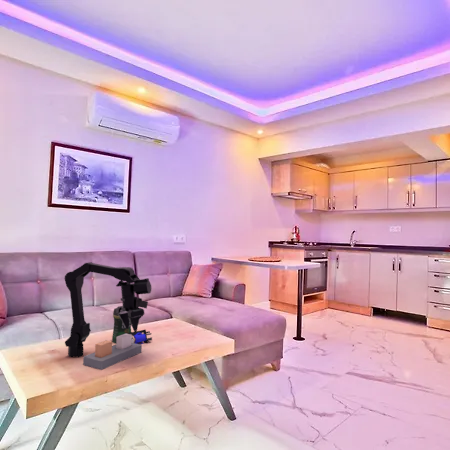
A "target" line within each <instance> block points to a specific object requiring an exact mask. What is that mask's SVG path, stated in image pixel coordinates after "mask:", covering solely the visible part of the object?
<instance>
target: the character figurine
mask: <svg viewBox="0 0 450 450" xmlns="http://www.w3.org/2000/svg"><path fill="white" fill-rule="evenodd" d="M125 334H131V343H135V344H140V345H143V344H144V343H148V342H150V341H153V337H147V336H151V335H152V332H150V330H148V331H147V329H145V328H144V329H142V330H137V331H136V332H134V331H131V332H130V333H125Z"/></svg>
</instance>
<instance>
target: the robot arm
mask: <svg viewBox="0 0 450 450" xmlns="http://www.w3.org/2000/svg"><path fill="white" fill-rule="evenodd" d="M89 273H94V274H100V275H105V276H111V277H113V278H115V279H116V280H119V281H118V283H116V285H115V286H116V287H120V290H121V291H120V292H121V297H120V301H121V302H122V304H121V305H120V306H117V307H116V313H119V314H118V315H119V317H120V319H121V320H122V322H123V324H124V325H125V327H126V329H127V328H129V321H130V323H131V329H133V332H136V331H138V327H139V322H140V320H141V318H142V317H143V316H144V315H145V309H147V308H148V304H149V301H147V300H143V299H142V297H137V296H136V295H148V294H151V292H152V283H151V282H150V278H141V279H140V277H139V276H137V274H136V273H135V269H134V268H133V267H130V266H128V267H127V266H122V267H121V266H119V267H118V266H117V267H114V266H111V265H110V266H109V265H106V264H99V263H94V262H92V261H91V262H89V261H87V262H84V263H83V264H82V265H81V266H79V267H77V268H75V269H74V270H72V271H69V272H67V273H65V275H64V282H65V285H66V288H67V289H68V291H69V293H70V296H69V297H70V302H71V314H72V325H71V328H70V336H69V337H68V338H67V339H66V340H65V341H64V344H65V347H68V348H67V356H65V358H66V357H69V358H81V357H84V342H86V340H87V339H88V337H89V336H90V332H91V331H92V330H91V327H90V326H91V323H90V322H88V323H87V322H86V320H85V313H84V312H85V311H84V303H83V301H84V300H83V293H82V288H83V285H84V279H85V277H86V276H88V275H89Z"/></svg>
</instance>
